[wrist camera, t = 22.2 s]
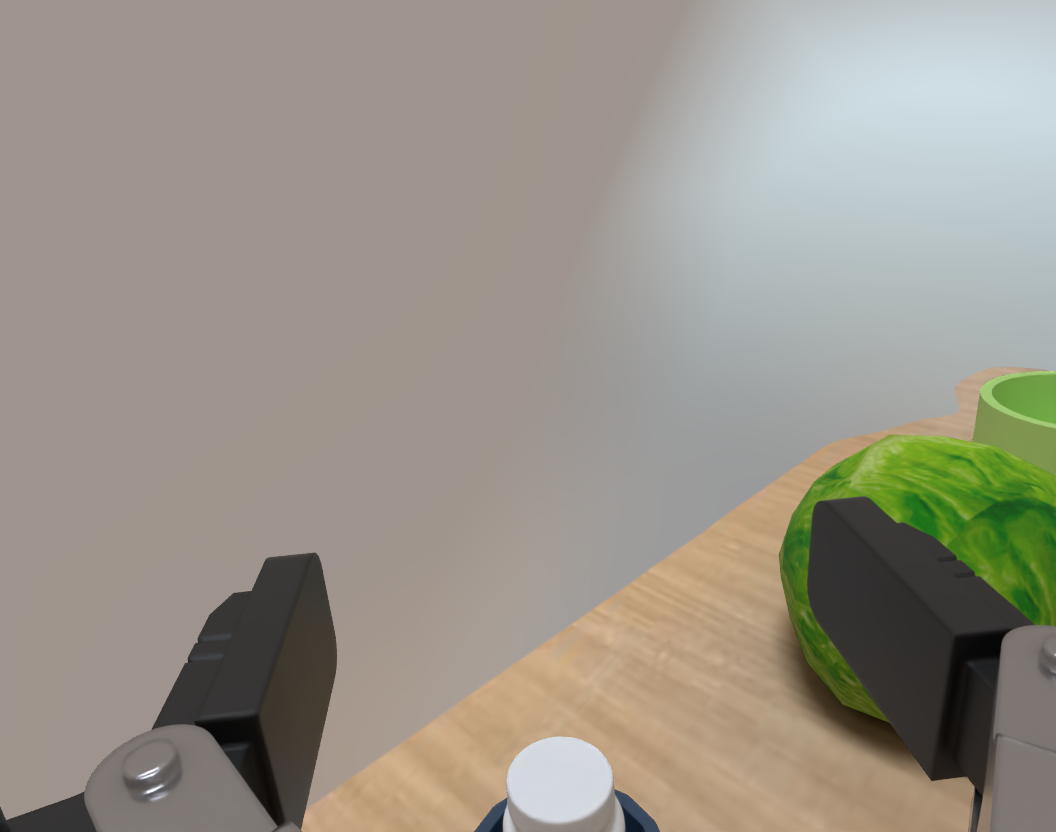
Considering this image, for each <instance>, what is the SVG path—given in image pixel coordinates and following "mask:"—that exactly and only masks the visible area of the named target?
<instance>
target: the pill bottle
mask: <svg viewBox="0 0 1056 832" xmlns="http://www.w3.org/2000/svg"><path fill="white" fill-rule="evenodd" d="M506 786H507V807H506V809H505V813H504V818H503V832H626V827H625V820H624V814H623V810H622V807H621V805H620V803H619V801H618V799H617V797H616V796H615V791H614V781H613V773H612V769H611V766H610V764H609V762H608V760H607V759H606V757H605V756H604V755H603V753H602V752H601V751H600V750H598V749H597V748H596V747H594V746H593V745H591V744H590V743H588V742H585V741H582V740H580V739H576V738H572V737H551V738H546V739H542V740H539V741H537V742H535V743H533V744H531V745H529V746H527V747H526V748H524V749H523V750H522V751H521V752H520V753H519V754H518V755H517V756H516V757H515V758H514V760H513V762H512V763H511V765H510V768H509V770H508V773H507V780H506Z"/></svg>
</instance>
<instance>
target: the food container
mask: <svg viewBox="0 0 1056 832" xmlns="http://www.w3.org/2000/svg"><path fill="white" fill-rule="evenodd" d="M973 442H974V443H980V444H985V445H990V446H995V447H999V448H1001V449H1003V450H1005V451H1007V452H1009V453H1011V454H1013V455H1015V456H1017V457H1019V458H1021V459H1023V460H1025V461H1027V462H1029V463H1031V464H1033V465H1035V466H1037V467H1040V468H1042V469H1044V470H1046V471H1048V472H1050V473H1052V474H1054V475H1056V372H1055V371H1041V372H1024V373H1015V374H1009V375H1004V376H1000V377H997V378H994V379H992V380H990V381H988V382H986V383H985V384H984V385H983V386H982V387H981V390H980V396H979V403H978V410H977V416H976V423H975V430H974V436H973Z"/></svg>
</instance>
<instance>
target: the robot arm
mask: <svg viewBox="0 0 1056 832" xmlns="http://www.w3.org/2000/svg"><path fill="white" fill-rule="evenodd" d="M807 591H808V598H809V603H810V606H811V609H812V612H813V615H814V617H815V619H816V621H817V622H818V624H819V625H820V627H821V628H822V629H823V631H824V632H825V633H826V635H827V636H828V638H829V639H830V640H831V642H832V643H833V645H834V646H835V647H836V649H837V650H838V652H839V653H840V654H841V656H842V657H843V659H844V660H845V661H846V663H847V664H848V665H849V667H850V668H851V670H852V671H853V672H854V674H855V675H856V677H857V678H858V679H859V681H860V682H861V684H862V685H863V686H864V688H865V689H866V690H867V692H868V693H869V695H870V696H871V697H872V699H873V700H874V702H875V703H876V704H877V706H878V707H879V709H880V710H881V711H882V713H883V714H884V715H885V717H886V718H887V720H888V721H889V722H890V724H891V725H892V727H893V728H894V729H895V731H896V732H897V734H898V735H899V736H900V738H901V739H902V741H903V742H904V743H905V745H906V746H907V747H908V749H909V750H910V752H911V753H912V754H913V756H914V757H915V759H916V760H917V761H918V763H919V764H920V766H921V767H922V768H923V770H924V771H925V772H926V774H927V775H928V777H929V778H930V779H931V781H934V780H942V779H950V778H958V777H966V776H967V777H968V779H969V780H970V781H971V782H972V784H973V785H974V786H975V787H974V792H973V797H972V803H971V809H970V818H969V826H968V832H1056V626H1047V625H1035V624H1034V623H1033V622H1032V621H1030V620H1029V619H1028V618H1027V617H1026V616H1025V615H1024V614H1022V613H1021V612H1020V611H1019V610H1018V609H1017V608H1016V607H1014V606H1013V605H1012V604H1011V603H1010V602H1009V601H1007V600H1006V599H1005V598H1004V597H1003V596H1002V595H1001V594H999V593H998V592H997V591H996V590H995V589H994V588H993V587H991V586H990V585H989V584H988V583H987V582H986V581H984V580H983V579H982V578H981V577H980V576H975V572H974V571H973V570H972V569H971V568H970V567H968V566H967V565H966V564H965V563H964V562H963V561H961V560H957V556H956V555H955V554H953V553H952V552H951V551H950V550H949V549H948V548H946V547H945V546H944V545H943V544H942V543H941V542H940V541H938V540H937V539H936V538H935V537H933V536H931V535H929V534H927V533H925V532H923V531H920V530H918V529H916V528H914V527H912V526H910V525H908V524H906V523H904V522H902V523H896V522H895V521H894V520H893V519H892V518H891V517H890V516H889V515H888V514H886V513H885V512H884V511H883V510H882V509H881V508H880V507H879V506H878V505H877V504H875V503H874V502H873V501H872V500H871V499H870V498H868V497H866V496H860V497H850V498H841V499H831V500H822V501H818V502H817V503H816V504H815V506H814V509H813V513H812V523H811V537H810V550H809V564H808V577H807ZM336 666H337V648H336V637H335V631H334V626H333V621H332V616H331V611H330V606H329V600H328V595H327V590H326V585H325V581H324V575H323V570H322V565H321V562H320V559H319V556H318V555H317V554H316V553H307V554H297V555H288V556H278V557H269V558H267V559H266V560H265V562H264V564H263V567H262V569H261V571H260V573H259V575H258V578H257V580H256V582H255V584H254V587H253V589H252V591H248V592H239V593H233V594H232V595H231V596H230V597H229V598H228V599H227V600H225V602H223V603H222V604H221V605H220V606H219V607H218V608H217V609H216V610H214V611H213V612H212V613H211V614H210V615H209V617H208V619H207V621H206V623H205V625H204V627H203V629H202V631H201V633H200V635H199V637H198V643H196V644H195V645H194V647H193V649H192V651H191V653H190V655H189V657H188V663H185V665H184V667H183V668H182V670H181V672H180V675H179V676H178V678H177V680H176V682H175V684H174V686H173V688H172V690H171V692H170V694H169V696H168V698H167V700H166V702H165V704H164V706H163V708H162V710H161V712H160V714H159V716H158V718H157V720H156V722H155V724H154V726H153V728H152V730H151V731H148V732H145V733H143V734H140V735H138V736H136V737H134V738H132V739H131V740H129V741H127V742H125V743H124V744H122V745H121V746H119V747H118V748H117V749H115V750H114V751H113V752H111V753H110V754H109V755H108V756H107V757H106V758H105V759H104V760H103V761H102V762H101V763H100V764H99V765H98V766H97V768H96V769H95V770H94V772H93V773H92V774H91V776H90V778H89V780H88V782H87V785H86V788H85V792H83V793H81V794H78V795H76V796H73V797H71V798H68V799H66V800H62V801H60V802H57V803H54V804H51V805H48V806H45V807H43V808H40V809H37V810H34V811H31V812H29V813H26V814H23V815H20V816H17V817H14V818H11V819H9V820H6V819H5V817H4V814H3V812H2V810H1V808H0V832H302V831H301V827H302V823H303V818H304V814H305V809H306V805H307V800H308V796H309V791H310V787H311V783H312V778H313V774H314V769H315V765H316V760H317V756H318V751H319V747H320V742H321V737H322V733H323V728H324V724H325V720H326V715H327V711H328V706H329V701H330V697H331V693H332V688H333V684H334V679H335V674H336Z"/></svg>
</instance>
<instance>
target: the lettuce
mask: <svg viewBox="0 0 1056 832" xmlns="http://www.w3.org/2000/svg"><path fill="white" fill-rule="evenodd" d="M860 496H866V497H868V498H870V499H871V500H872V501H873V502H874V503H875V504H877V505H878V506H879V507H880V508H881V509H882V510H883V511H884V512H885V513H886V514H888V515H889V516H890V517H891V518H892V519H893V520H894V521H895V522H896V523H902V522H904V523H906V524H908V525H910V526H912V527H914V528H916V529H918V530H920V531H923V532H925V533H927V534H929V535H931V536H933V537H935V538H936V539H937V540H938V541H940V542H941V543H942V544H943V545H944V546H945V547H946V548H948V549H949V550H950V551H951V552H952V553H953V554H955V555H956V556H957V560H961V561H963V562H964V563H965V564H966V565H967V566H968V567H970V568H971V569H972V570H973V571H974V572H975V576H980V577H981V578H982V579H983V580H984V581H986V582H987V583H988V584H989V585H990V586H991V587H993V588H994V589H995V590H996V591H997V592H998V593H999V594H1001V595H1002V596H1003V597H1004V598H1005V599H1006V600H1007V601H1009V602H1010V603H1011V604H1012V605H1013V606H1014V607H1016V608H1017V609H1018V610H1019V611H1020V612H1021V613H1022V614H1024V615H1025V616H1026V617H1027V618H1028V619H1029V620H1030V621H1032V622H1033V623H1034V624H1035V625H1047V626H1056V475H1054V474H1052V473H1050V472H1048V471H1046V470H1044V469H1042V468H1040V467H1037V466H1035V465H1033V464H1031V463H1029V462H1027V461H1025V460H1023V459H1021V458H1019V457H1017V456H1015V455H1013V454H1011V453H1009V452H1007V451H1005V450H1003V449H1001V448H999V447H995V446H990V445H985V444H980V443H974V442H969V441H964V440H959V439H954V438H948V437H943V436H916V435H889V436H887V437H885V438H883V439H881V440H880V441H878V442H876V443H874V444H872V445H870V446H869V447H867V448H865V449H863V450H861V451H859V452H858V453H856V454H854V455H852V456H850V457H848V458H847V459H845V460H843V461H841V462H839V463H837V464H836V465H834V466H833V467H832V468H830V469H829V470H828V471H827V472H826V473H824V474H823V475H822V476H821V477H820V478H818V479H817V480H816V481H815V482H814V483H813V485H812V486H811V488H810V489H809V491H808V492H807V493H806V495H805V496H804V498H803V499H802V501H801V502H800V504H799V505H798V507H797V508H796V510H795V511H794V513H793V514H792V517H791V520H790V523H789V526H788V529H787V532H786V535H785V538H784V541H783V544H782V547H781V550H780V553H779V561H780V573H781V580H782V584H783V589H784V593H785V597H786V602H787V606H788V611H789V615H790V619H791V621H792V624H793V627H794V629H795V632H796V634H797V637H798V639H799V642H800V645H801V647H802V650H803V652H804V655H805V658H806V660H807V663H808V664H809V665H810V666H811V667H812V669H813V670H814V671H815V672H816V673H817V674H818V676H819V677H820V678H821V679H822V680H823V682H824V683H825V684H826V685H827V686H828V688H829V689H830V690H831V691H832V692H833V694H834V695H835V696H836V697H837V698H838V700H839V701H840V702H841V703H842V704H843V705H845V706H848V707H850V708H853V709H855V710H858V711H861V712H863V713H866V714H868V715H871V716H873V717H876V718H878V719H881V720H883V721H886V722H889V721H888V720H887V718H886V717H885V715H884V714H883V713H882V711H881V710H880V709H879V707H878V706H877V704H876V703H875V702H874V700H873V699H872V697H871V696H870V695H869V693H868V692H867V690H866V689H865V688H864V686H863V685H862V684H861V682H860V681H859V679H858V678H857V677H856V675H855V674H854V672H853V671H852V670H851V668H850V667H849V665H848V664H847V663H846V661H845V660H844V659H843V657H842V656H841V654H840V653H839V652H838V650H837V649H836V647H835V646H834V645H833V643H832V642H831V640H830V639H829V638H828V636H827V635H826V633H825V632H824V631H823V629H822V628H821V627H820V625H819V624H818V622H817V621H816V619H815V617H814V615H813V612H812V609H811V606H810V603H809V598H808V591H807V577H808V564H809V550H810V537H811V523H812V513H813V509H814V506H815V504H816V503H817V502H818V501H822V500H831V499H841V498H850V497H860ZM889 723H890V722H889Z"/></svg>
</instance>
